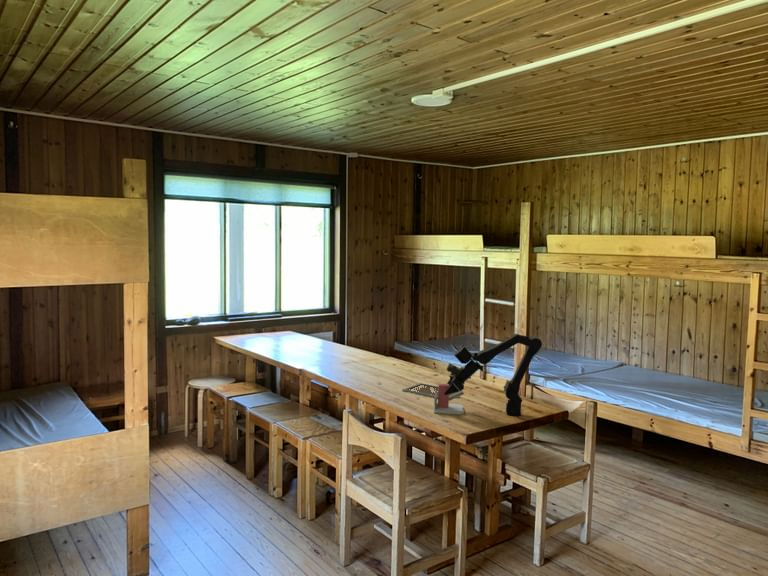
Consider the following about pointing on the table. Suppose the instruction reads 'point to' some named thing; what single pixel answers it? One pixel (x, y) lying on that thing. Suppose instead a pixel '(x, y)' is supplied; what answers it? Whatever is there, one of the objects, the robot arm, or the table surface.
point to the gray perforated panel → (429, 391)
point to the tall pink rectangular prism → (443, 396)
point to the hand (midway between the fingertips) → (444, 391)
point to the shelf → (450, 410)
